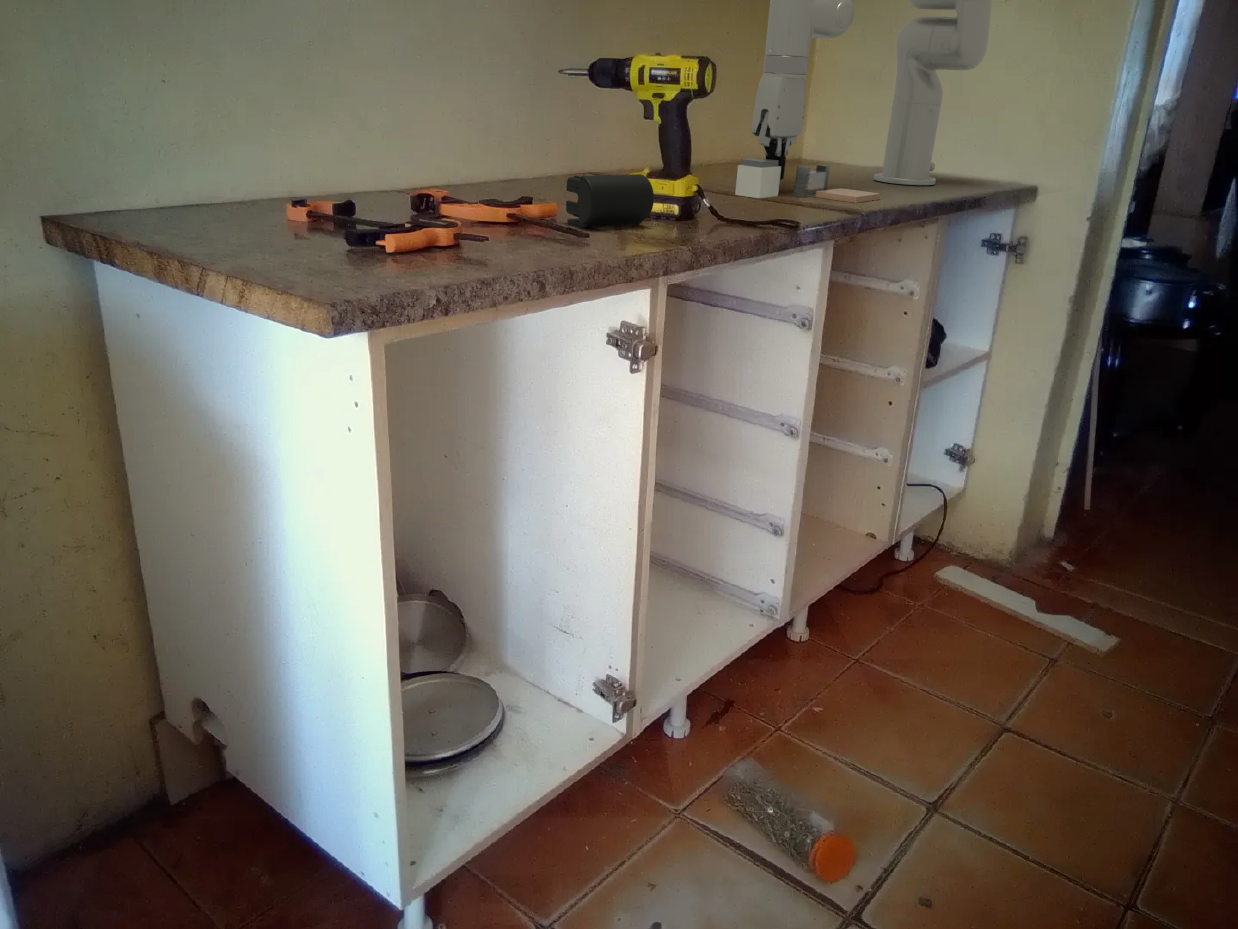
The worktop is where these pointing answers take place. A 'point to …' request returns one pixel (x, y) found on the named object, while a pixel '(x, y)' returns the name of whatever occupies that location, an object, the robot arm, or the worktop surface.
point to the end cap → (609, 200)
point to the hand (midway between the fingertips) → (773, 178)
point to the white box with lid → (758, 178)
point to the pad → (848, 195)
